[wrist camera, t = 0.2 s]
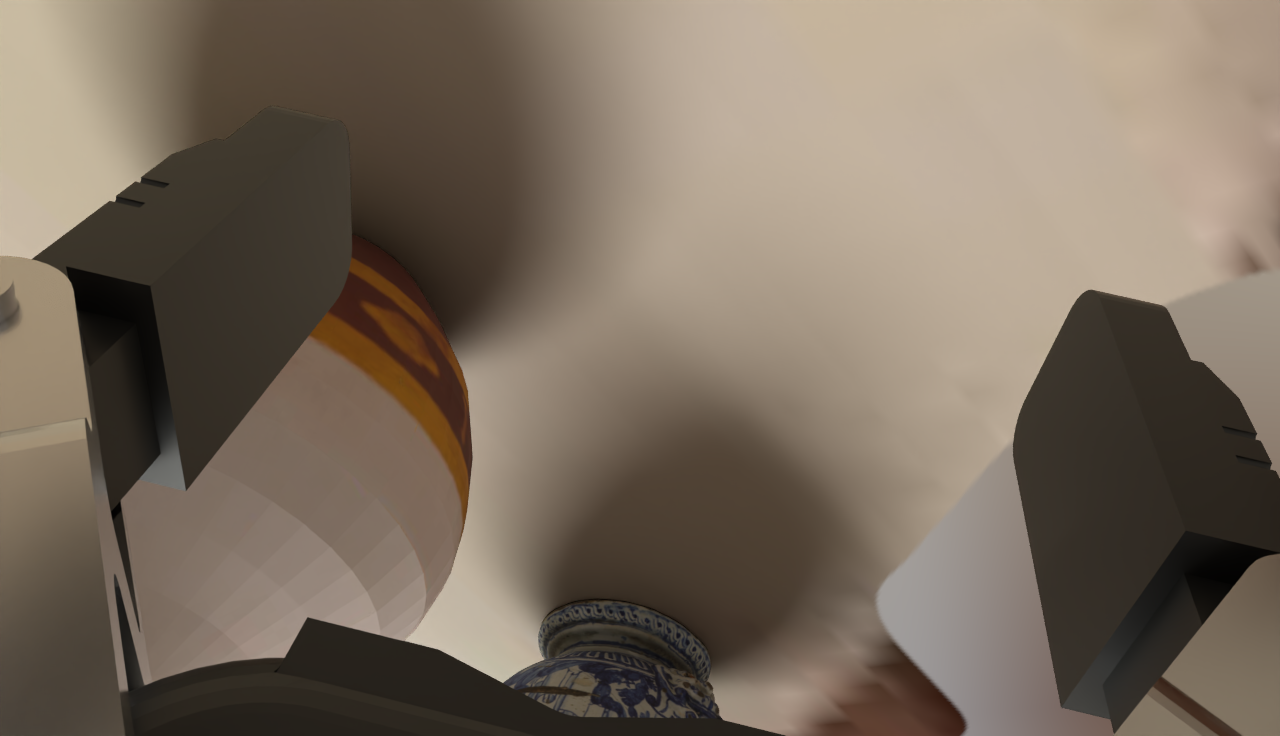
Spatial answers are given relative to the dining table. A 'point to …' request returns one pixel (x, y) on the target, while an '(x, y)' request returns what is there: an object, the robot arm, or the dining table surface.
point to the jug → (317, 490)
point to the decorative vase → (618, 664)
